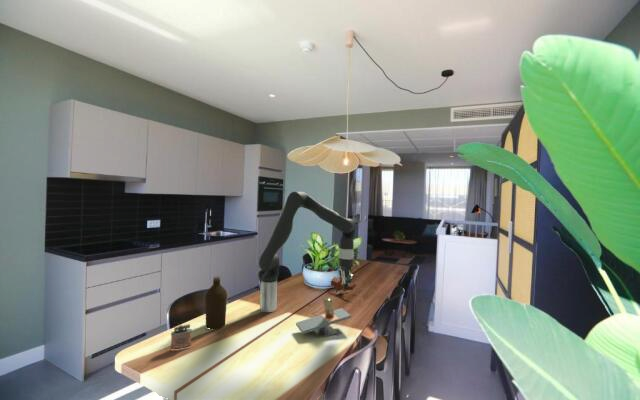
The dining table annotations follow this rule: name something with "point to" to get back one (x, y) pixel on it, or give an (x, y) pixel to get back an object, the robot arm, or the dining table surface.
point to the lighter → (181, 337)
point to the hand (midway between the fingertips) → (345, 290)
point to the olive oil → (215, 305)
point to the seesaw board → (322, 321)
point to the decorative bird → (340, 285)
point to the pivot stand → (325, 332)
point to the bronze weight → (328, 308)
